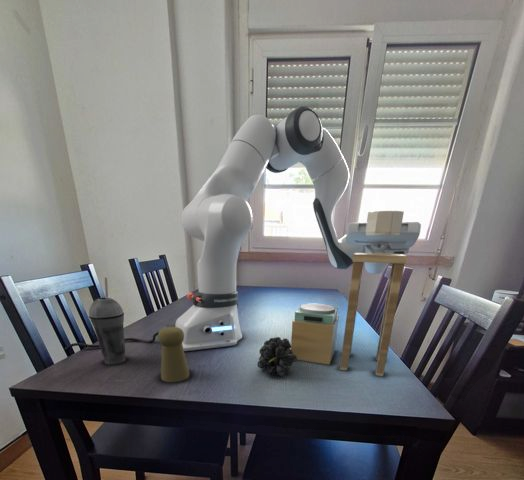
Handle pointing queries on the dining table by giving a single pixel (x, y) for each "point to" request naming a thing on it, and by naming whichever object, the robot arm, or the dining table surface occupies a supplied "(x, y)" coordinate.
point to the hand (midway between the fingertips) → (384, 217)
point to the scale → (314, 333)
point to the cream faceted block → (384, 223)
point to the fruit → (276, 356)
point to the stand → (389, 309)
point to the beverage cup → (109, 328)
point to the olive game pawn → (173, 355)
